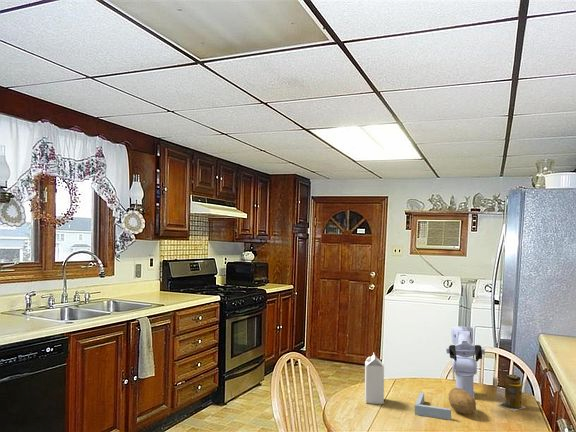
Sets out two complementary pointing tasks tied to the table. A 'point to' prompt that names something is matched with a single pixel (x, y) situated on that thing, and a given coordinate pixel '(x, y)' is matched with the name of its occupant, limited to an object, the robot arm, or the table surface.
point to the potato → (461, 401)
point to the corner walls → (431, 409)
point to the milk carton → (374, 380)
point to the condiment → (513, 393)
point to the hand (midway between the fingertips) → (466, 358)
